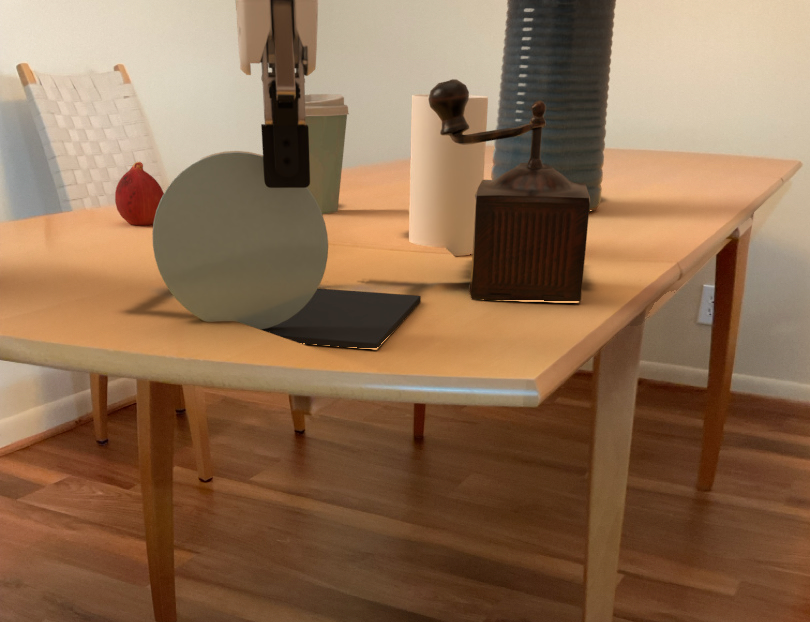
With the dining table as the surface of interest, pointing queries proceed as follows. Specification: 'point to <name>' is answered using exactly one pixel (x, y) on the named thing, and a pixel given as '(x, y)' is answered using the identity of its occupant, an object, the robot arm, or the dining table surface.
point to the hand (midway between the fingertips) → (287, 185)
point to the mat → (347, 318)
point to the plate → (239, 242)
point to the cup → (444, 177)
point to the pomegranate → (138, 196)
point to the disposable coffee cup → (326, 147)
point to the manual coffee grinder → (520, 215)
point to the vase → (557, 86)
